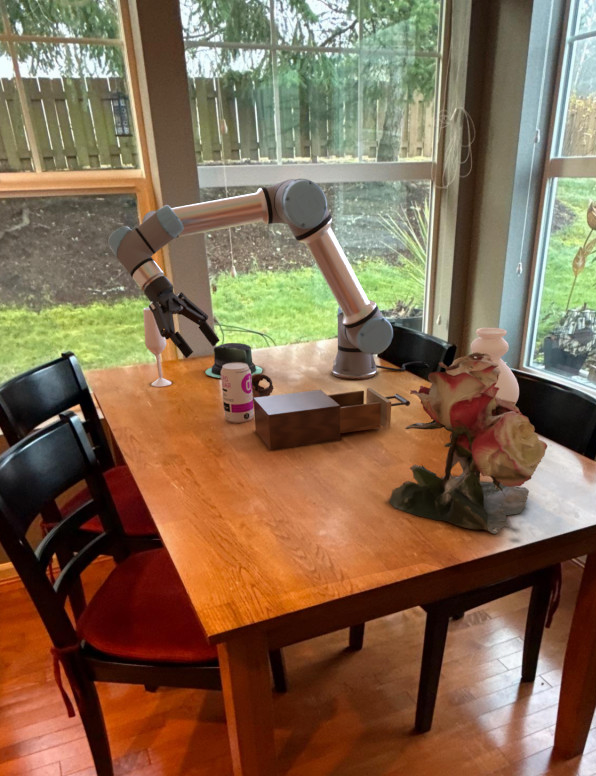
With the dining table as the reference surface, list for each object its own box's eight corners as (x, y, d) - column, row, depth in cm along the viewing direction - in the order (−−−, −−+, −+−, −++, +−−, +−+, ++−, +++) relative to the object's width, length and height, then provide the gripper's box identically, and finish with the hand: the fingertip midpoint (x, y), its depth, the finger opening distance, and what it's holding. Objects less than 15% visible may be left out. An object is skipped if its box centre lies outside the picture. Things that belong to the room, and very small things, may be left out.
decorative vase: (439, 430, 168) (447, 334, 155) (456, 410, 181) (465, 321, 169) (506, 440, 161) (521, 341, 148) (519, 419, 175) (533, 326, 162)
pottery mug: (272, 393, 200) (276, 374, 193) (268, 414, 195) (272, 396, 188) (234, 384, 198) (238, 365, 191) (230, 405, 193) (233, 386, 186)
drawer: (392, 410, 180) (393, 384, 176) (414, 425, 169) (416, 398, 165) (311, 421, 173) (310, 394, 169) (328, 437, 162) (328, 409, 158)
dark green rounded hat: (270, 362, 228) (258, 379, 211) (228, 385, 235) (214, 403, 218) (247, 324, 222) (234, 339, 205) (205, 349, 229) (189, 365, 212)
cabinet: (321, 422, 175) (320, 389, 170) (340, 440, 163) (340, 405, 158) (255, 431, 169) (253, 397, 164) (270, 450, 157) (268, 414, 153)
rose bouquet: (519, 544, 116) (546, 384, 101) (378, 507, 130) (384, 361, 115) (555, 491, 135) (582, 350, 120) (428, 464, 148) (439, 334, 133)
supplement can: (259, 415, 180) (255, 363, 172) (244, 425, 173) (240, 371, 166) (234, 412, 183) (230, 360, 175) (219, 421, 176) (214, 368, 169)
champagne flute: (176, 382, 210) (166, 307, 198) (161, 387, 205) (150, 311, 194) (161, 379, 214) (151, 305, 202) (146, 384, 209) (135, 309, 197)
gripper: (172, 285, 181) (218, 346, 185) (117, 300, 162) (169, 368, 165) (187, 268, 177) (234, 331, 180) (132, 281, 157) (185, 351, 161)
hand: (203, 349), depth 173 cm, fingers open, 13 cm apart
